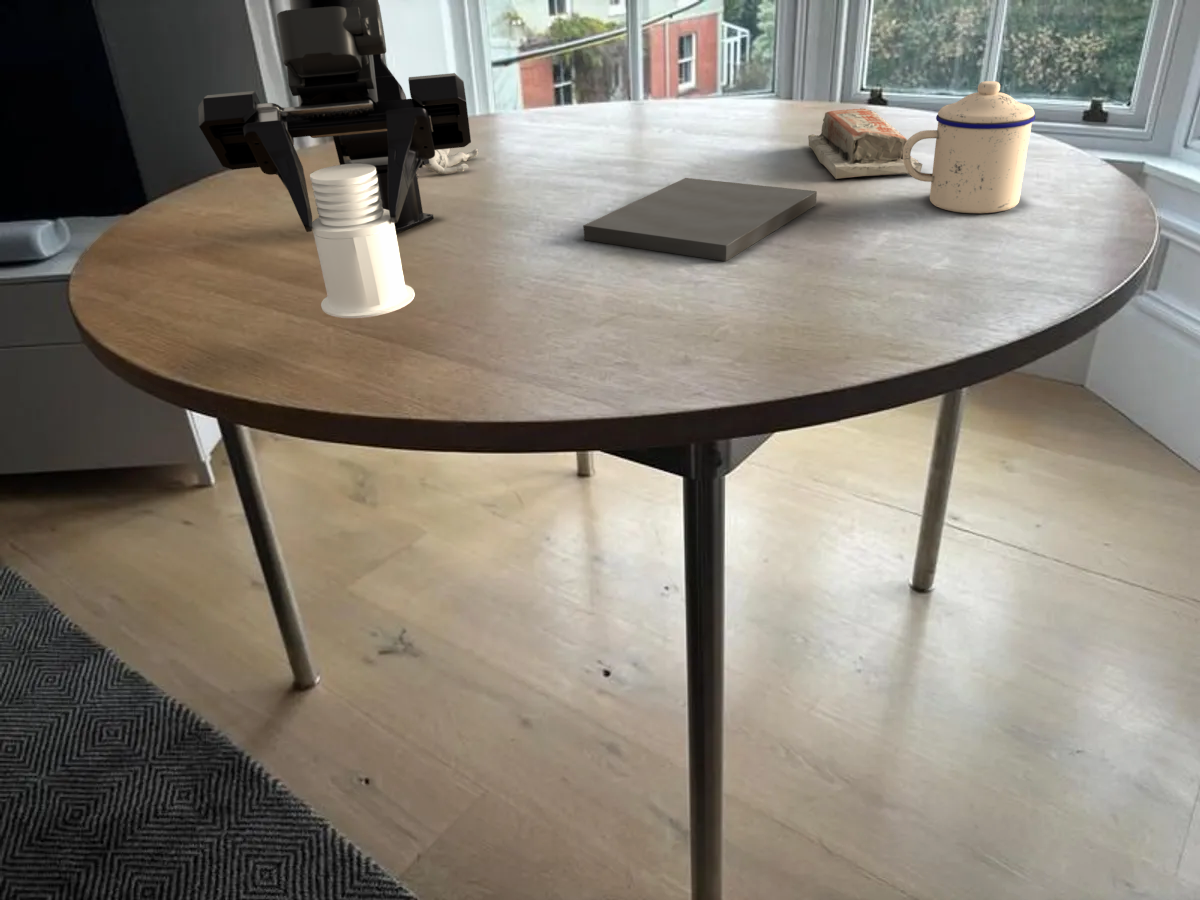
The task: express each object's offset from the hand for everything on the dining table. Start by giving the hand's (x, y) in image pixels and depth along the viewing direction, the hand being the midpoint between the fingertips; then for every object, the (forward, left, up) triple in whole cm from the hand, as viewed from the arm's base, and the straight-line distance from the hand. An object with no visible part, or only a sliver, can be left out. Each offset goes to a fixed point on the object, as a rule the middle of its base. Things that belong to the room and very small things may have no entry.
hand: (350, 224), depth 66 cm
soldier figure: (-48, -38, -10) cm, 62 cm away
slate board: (-40, +6, -10) cm, 41 cm away
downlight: (-1, -1, -7) cm, 7 cm away
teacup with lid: (-56, +27, -10) cm, 63 cm away
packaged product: (-70, +11, -10) cm, 71 cm away
